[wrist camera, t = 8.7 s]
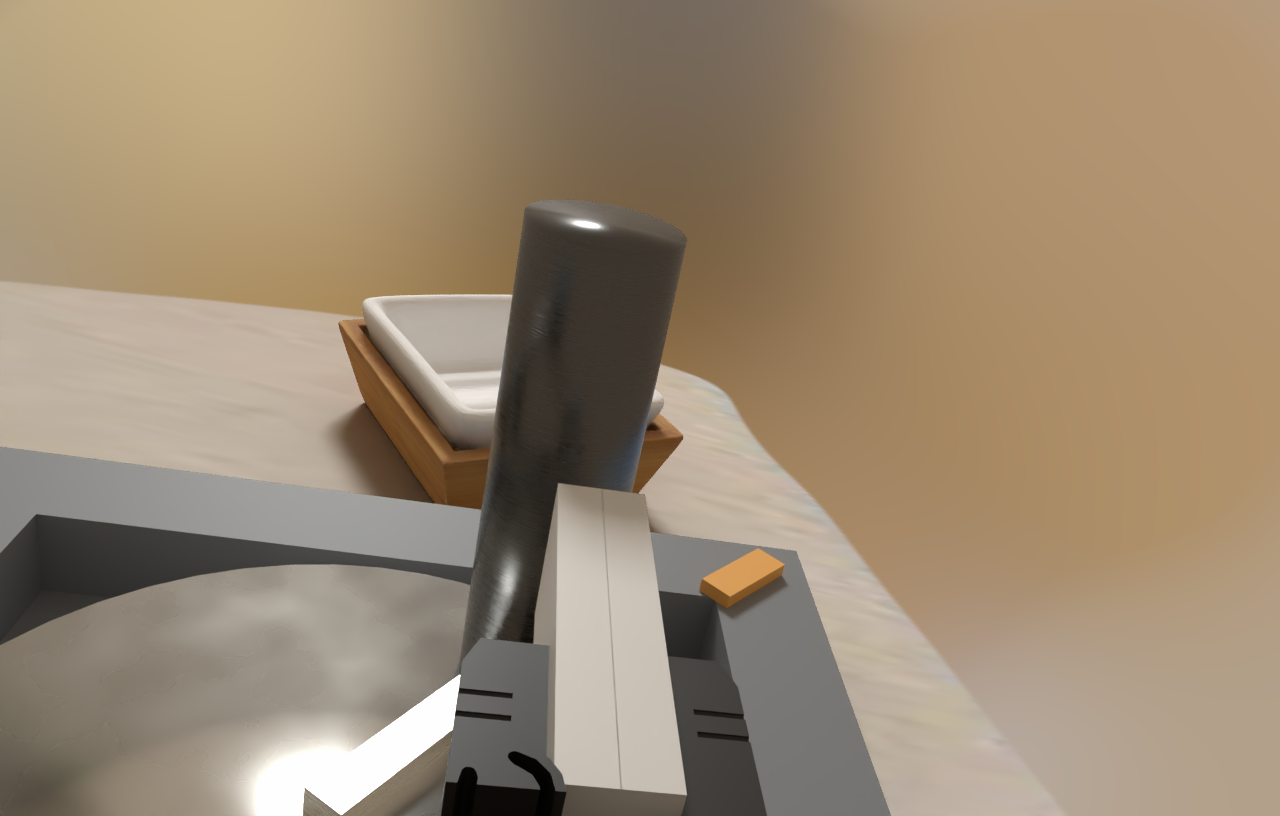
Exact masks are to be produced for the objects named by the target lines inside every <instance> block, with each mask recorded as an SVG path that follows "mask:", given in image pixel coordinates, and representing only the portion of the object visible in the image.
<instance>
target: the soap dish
mask: <svg viewBox="0 0 1280 816" xmlns="http://www.w3.org/2000/svg"><path fill="white" fill-rule="evenodd" d="M511 302H512V295H409V296H408V295H403V296H384V297H373V298H368V299H366V300H365V301H364V302H363V305H362V310H363V315H364V319H356V320H343V321H340V322H339V329H340V332H341V335H342V338H343V341H344V344H345V347H346V350H347V353H348V356H349V359H350V362H351V365H352V368H353V371H354V374H355V377H356V380H357V383H358V386H359V389H360V392H361V394H362V397H363V399H364V401H365V403H366V407H367V408H369V409H370V410H371V411H372V413H373V415H374V416H375V418H376V419H377V420H378V422H379V423H380V425H381V426H382V428H383V429H384V431H385V432H386V434H387V435H388V436H389V438H390V439H391V441H392V442H393V444H394V445H395V447H396V448H397V450H398V451H399V453H400V454H401V456H402V457H403V459H404V460H405V461H406V463H407V464H408V466H409V467H410V469H411V470H412V472H413V473H414V475H415V476H416V477H417V479H418V480H419V482H420V483H421V485H422V486H423V488H424V489H425V490H426V492H427V493H428V495H429V496H430V498H431V499H432V501H433V502H434V504H441V505H449V506H456V507H464V508H472V509H479V510H481V508H482V501H483V495H484V488H485V481H486V474H487V467H488V460H489V453H490V446H491V439H492V433H493V426H494V419H495V412H496V405H497V398H498V391H499V384H500V377H501V371H502V364H503V357H504V350H505V343H506V336H507V329H508V322H509V315H510V309H511ZM663 405H664V400H663V397H662V396H661V394H660V393H659V392H658V391H657V390H656V389H655V390H654V395H653V399H652V404H651V408H650V413H649V417H648V422H647V427H646V431H645V436H644V440H643V445H642V450H641V454H640V459H639V463H638V468H637V473H636V477H635V482H634V486H633V491H632V493H637V494H638V493H639V492H640V490H641V489H642V488H643V487H644V486H645V484H646V483H647V482H648V481H649V480H650V479H651V477H652V476H653V475H654V474H655V473H656V471H657V470H658V469H659V468H660V467H661V465H662V464H663V463H664V462H665V461H666V459H667V458H668V457H669V456H670V455H671V454H672V452H673V451H674V450H675V449H676V448H677V446H678V445H679V444H680V442H681V441H682V440H683V435H682V434H681V433H680V432H679V431H678V430H677V429H676V428H675V427H674V426H673V425H672V424H671V423H669V422H668V421H667V420H666V419H665V418H664V417H663V416H662V415H660V414H659V413H660V411H661V409H662V408H663Z"/></svg>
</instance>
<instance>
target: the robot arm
mask: <svg viewBox="0 0 1280 816" xmlns="http://www.w3.org/2000/svg"><path fill="white" fill-rule="evenodd" d="M436 816H767V813H766V808H765V804H764V799H763V795H762V791H761V786H760V782H759V777H758V773H757V769H756V764H755V760H754V755H753V751H752V747H751V742H749V733H748V729H747V725H746V720H744V711H743V707H742V703H741V698H740V694H739V689H738V686H737V685H736V684H735V682H734V681H733V680H732V678H731V677H730V676H729V674H728V673H727V672H726V670H725V669H724V668H723V666H722V665H721V664H720V662H717V661H708V660H699V659H690V658H681V657H672V656H667V649H666V641H665V634H664V627H663V620H662V613H661V606H660V598H659V591H658V584H657V577H656V570H655V563H654V556H653V548H652V541H651V534H650V527H649V520H648V513H647V506H646V498H645V494H637V493H629V492H622V491H614V490H607V489H599V488H592V487H584V486H576V485H569V484H561V483H558V487H557V493H556V498H555V504H554V509H553V515H552V520H551V526H550V531H549V537H548V543H547V548H546V554H545V559H544V565H543V570H542V576H541V581H540V587H539V593H538V598H537V604H536V609H535V621H534V643H533V644H531V643H522V642H513V641H503V640H494V639H485V638H480V639H479V640H478V642H477V643H476V644H475V645H474V647H473V648H472V649H471V650H470V652H469V653H468V654H467V655H466V657H465V658H464V659H463V660H462V667H461V674H460V681H459V688H458V694H457V701H456V708H455V715H454V722H453V729H452V736H451V743H450V750H449V757H448V764H447V771H446V778H445V785H444V792H443V799H442V802H441V806H440V809H439V811H438V813H437V814H436Z"/></svg>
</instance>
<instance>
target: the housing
mask: <svg viewBox="0 0 1280 816" xmlns="http://www.w3.org/2000/svg"><path fill="white" fill-rule="evenodd" d="M480 515H481V510H479V509H472V508H464V507H456V506H449V505H441V504H433V503H426V502H418V501H411V500H403V499H395V498H388V497H380V496H372V495H365V494H357V493H350V492H342V491H334V490H327V489H319V488H311V487H304V486H296V485H289V484H281V483H273V482H266V481H258V480H251V479H243V478H235V477H228V476H220V475H212V474H205V473H197V472H190V471H182V470H174V469H167V468H159V467H151V466H144V465H136V464H129V463H121V462H113V461H106V460H98V459H90V458H83V457H75V456H68V455H60V454H52V453H45V452H37V451H29V450H22V449H14V448H7V447H0V645H2V644H4V643H6V642H8V641H10V640H12V639H14V638H16V637H18V636H20V635H22V634H24V633H26V632H28V631H30V630H33V629H35V628H37V627H39V626H41V625H43V624H45V623H47V622H49V621H51V620H54V619H57V618H59V617H62V616H64V615H67V614H69V613H72V612H74V611H77V610H80V609H82V608H85V607H87V606H90V605H92V604H95V603H98V602H100V601H103V600H107V599H110V598H113V597H117V596H120V595H123V594H126V593H130V592H133V591H136V590H139V589H143V588H146V587H149V586H154V585H158V584H162V583H167V582H171V581H176V580H180V579H184V578H189V577H193V576H198V575H204V574H211V573H218V572H224V571H231V570H237V569H244V568H256V567H268V566H281V565H329V564H336V565H351V566H366V567H380V568H387V569H394V570H401V571H408V572H415V573H421V574H426V575H430V576H435V577H439V578H444V579H448V580H453V581H457V582H461V583H465V584H468V585H470V584H471V577H472V570H473V563H474V557H475V550H476V543H477V536H478V529H479V522H480ZM650 534H651V541H652V548H653V556H654V563H655V570H656V577H657V584H658V591H659V598H660V606H661V613H662V620H663V627H664V634H665V641H666V649H667V656H672V657H681V658H690V659H699V660H708V661H717V662H720V664H721V665H722V666H723V668H724V669H725V670H726V672H727V673H728V674H729V676H730V677H731V678H732V680H733V681H734V682H735V684H736V685H737V686H738V689H739V694H740V698H741V703H742V707H743V711H744V720H746V725H747V729H748V733H749V742H751V747H752V751H753V755H754V760H755V764H756V769H757V773H758V777H759V782H760V786H761V791H762V795H763V799H764V804H765V808H766V813H767V816H891V815H890V812H889V809H888V806H887V803H886V801H885V798H884V795H883V792H882V789H881V787H880V784H879V781H878V778H877V775H876V773H875V770H874V767H873V764H872V762H871V759H870V756H869V753H868V750H867V748H866V745H865V742H864V739H863V736H862V734H861V731H860V728H859V725H858V722H857V720H856V717H855V714H854V711H853V708H852V706H851V703H850V700H849V697H848V694H847V692H846V689H845V686H844V683H843V680H842V678H841V675H840V672H839V669H838V667H837V664H836V661H835V658H834V655H833V653H832V650H831V647H830V644H829V641H828V639H827V636H826V633H825V630H824V627H823V625H822V622H821V619H820V616H819V613H818V611H817V608H816V605H815V602H814V599H813V597H812V594H811V591H810V588H809V586H808V583H807V580H806V577H805V574H804V572H803V569H802V566H801V563H800V560H799V558H798V555H797V552H796V551H792V550H784V549H776V548H769V547H761V546H754V545H746V544H738V543H731V542H723V541H715V540H708V539H700V538H693V537H685V536H677V535H670V534H662V533H654V532H650Z"/></svg>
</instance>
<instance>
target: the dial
mask: <svg viewBox="0 0 1280 816" xmlns="http://www.w3.org/2000/svg"><path fill="white" fill-rule="evenodd" d="M686 243H687V238H686V236H685V234H684V233H683V232H682V231H680V230H679V229H678V228H676V227H675V226H673V225H671V224H669V223H667V222H665V221H663V220H661V219H658V218H656V217H653V216H650V215H648V214H645V213H641V212H638V211H634V210H631V209H627V208H623V207H619V206H614V205H608V204H604V203H597V202H590V201H581V200H567V199H566V200H564V199H563V200H562V199H559V200H558V199H556V200H543V201H538V202H534V203H531V204H529V205H528V206H527V207H526V208H525V212H524V219H523V226H522V233H521V240H520V247H519V254H518V261H517V268H516V275H515V281H514V289H513V295H512V302H511V309H510V315H509V322H508V329H507V336H506V343H505V350H504V357H503V364H502V371H501V377H500V384H499V391H498V398H497V405H496V412H495V419H494V426H493V433H492V439H491V446H490V453H489V460H488V467H487V474H486V481H485V488H484V495H483V501H482V508H481V515H480V522H479V529H478V536H477V543H476V550H475V557H474V563H473V570H472V577H471V584H470V585H468V584H465V583H461V582H457V581H453V580H448V579H444V578H439V577H435V576H430V575H426V574H421V573H415V572H408V571H401V570H394V569H387V568H380V567H366V566H351V565H336V564H329V565H281V566H268V567H256V568H244V569H237V570H231V571H224V572H218V573H211V574H204V575H198V576H193V577H189V578H184V579H180V580H176V581H171V582H167V583H162V584H158V585H154V586H149V587H146V588H143V589H139V590H136V591H133V592H130V593H126V594H123V595H120V596H117V597H113V598H110V599H107V600H103V601H100V602H98V603H95V604H92V605H90V606H87V607H85V608H82V609H80V610H77V611H74V612H72V613H69V614H67V615H64V616H62V617H59V618H57V619H54V620H51V621H49V622H47V623H45V624H43V625H41V626H39V627H37V628H35V629H33V630H30V631H28V632H26V633H24V634H22V635H20V636H18V637H16V638H14V639H12V640H10V641H8V642H6V643H4V644H2V645H0V816H436V814H437V813H438V811H439V809H440V806H441V802H442V799H443V792H444V785H445V778H446V771H447V764H448V757H449V750H450V743H451V736H452V729H453V722H454V715H455V708H456V701H457V694H458V688H459V681H460V674H461V667H462V660H463V659H464V658H465V657H466V655H467V654H468V653H469V652H470V650H471V649H472V648H473V647H474V645H475V644H476V643H477V642H478V640H479V639H480V638H485V639H494V640H503V641H513V642H522V643H531V644H533V643H534V621H535V609H536V604H537V598H538V593H539V587H540V581H541V576H542V570H543V565H544V559H545V554H546V548H547V543H548V537H549V531H550V526H551V520H552V515H553V509H554V504H555V498H556V493H557V487H558V483H561V484H569V485H576V486H584V487H592V488H599V489H607V490H614V491H622V492H629V493H632V491H633V486H634V482H635V477H636V473H637V468H638V463H639V459H640V454H641V450H642V445H643V440H644V436H645V431H646V427H647V422H648V417H649V413H650V408H651V404H652V399H653V395H654V390H655V385H656V381H657V376H658V372H659V367H660V362H661V358H662V353H663V348H664V344H665V339H666V335H667V330H668V325H669V321H670V316H671V312H672V307H673V303H674V298H675V293H676V289H677V284H678V280H679V275H680V270H681V265H682V261H683V257H684V252H685V248H686Z"/></svg>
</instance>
